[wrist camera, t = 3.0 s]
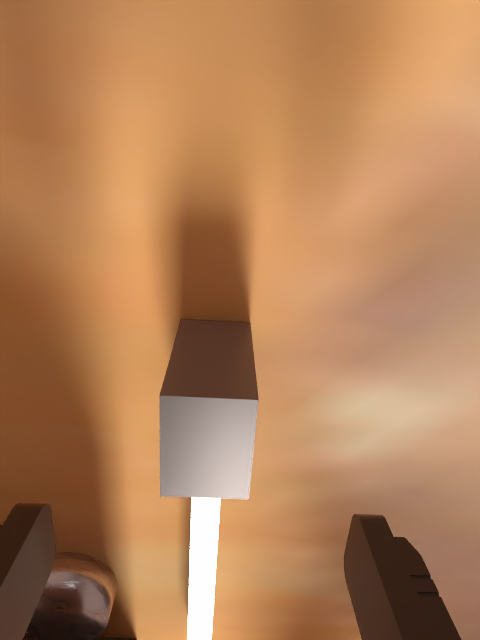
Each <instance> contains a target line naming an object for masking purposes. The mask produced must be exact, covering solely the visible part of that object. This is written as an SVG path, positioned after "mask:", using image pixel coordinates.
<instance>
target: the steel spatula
mask: <svg viewBox="0 0 480 640" xmlns="http://www.w3.org/2000/svg"><path fill="white" fill-rule="evenodd" d="M258 401H259V400H258V390H257V381H256V372H255V363H254V353H253V344H252V335H251V326H250V323H244V322H226V321H207V320H188V319H181V321H180V325H179V328H178V332H177V335H176V339H175V343H174V346H173V350H172V353H171V357H170V360H169V364H168V367H167V371H166V375H165V378H164V382H163V385H162V389H161V392H160V496H164V497H192V501H191V534H190V568H189V601H188V635H187V640H211V636H212V621H213V605H214V590H215V574H216V559H217V543H218V528H219V512H220V498H221V499H249V492H250V482H251V472H252V461H253V451H254V441H255V431H256V421H257V411H258Z"/></svg>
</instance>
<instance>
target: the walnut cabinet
mask: <svg viewBox="0 0 480 640" xmlns="http://www.w3.org/2000/svg"><path fill="white" fill-rule="evenodd" d="M23 640H40V639H38V638H36V637H23ZM93 640H137V639H93Z"/></svg>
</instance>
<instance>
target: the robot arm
mask: <svg viewBox="0 0 480 640" xmlns="http://www.w3.org/2000/svg"><path fill="white" fill-rule="evenodd" d="M55 551H56V546H55V538H54V530H53V522H52V515H51V508H50V506H49V505H48V504H25V503H19V504H17V505H15V507H14V508H13V509H12V511H11V513H10V514H9V516H8V517H7V519H6V521H5V522H4V524H3V525H0V640H23V637H24V635H25V633H26V630H27V628H28V626H29V623H30V621H31V618H32V616H33V614H34V611H35V609H36V607H37V604H38V602H39V600H40V597H41V595H42V593H43V590H44V588H45V585H46V583H47V581H48V578H49V576H50V574H51V571H52V568H53V564H54V559H55ZM344 572H345V578H346V583H347V586H348V590H349V594H350V597H351V601H352V605H353V608H354V612H355V615H356V619H357V623H358V626H359V630H360V634H361V637H362V640H461V638H460V636H459V634H458V632H457V630H456V628H455V626H454V623H453V621H452V619H451V617H450V615H449V613H448V611H447V609H446V607H445V605H444V603H443V600H442V598H441V597H439V592H438V590H437V588H436V586H435V584H434V582H433V580H431V577H430V576H431V575H430V573H429V571H428V569H427V567H426V565H425V563H424V561H423V559H422V557H421V555H420V554H419V553H418V552H417V550H416V549H415V548H414V547H413V546H412V545H411V544H410V543H409V542H408V541H407V539H406V538H405V537H393V535H392V533H391V530H390V528H389V526H388V523H387V521H386V519H385V517H384V516H382V515H363V514H354V515H353V517H352V520H351V525H350V530H349V535H348V539H347V544H346V549H345V554H344Z"/></svg>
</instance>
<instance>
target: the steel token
mask: <svg viewBox="0 0 480 640" xmlns="http://www.w3.org/2000/svg"><path fill="white" fill-rule="evenodd" d="M116 590H117V580H116V577H115V575H114V573H113V572H112V571H111V569H110V568H109V567H108V566H107V565H105V564H104V563H103V562H101V561H99V560H98V559H95V558H93V557H91V556H88V555H84V554H79V553H71V552H69V553H57V554H55V559H54V564H53V568H52V571H51V574H50V576H49V578H48V581H47V583H46V585H45V588H44V590H43V593H42V595H41V597H40V600H39V602H38V604H37V607H36V609H35V611H34V614H33V616H32V618H31V621H30V623H29V626H28V628H27V630H26V632H28V633H29V634H30V635H32V636H34V637H36V638H38V639H40V640H93V639H95V638H96V637H98V636H99V635H100V634H101V633H102V632H103V631H104V630H105V629H106V627H107V625H108V621H109V617H110V613H111V610H112V606H113V602H114V598H115V594H116Z"/></svg>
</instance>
